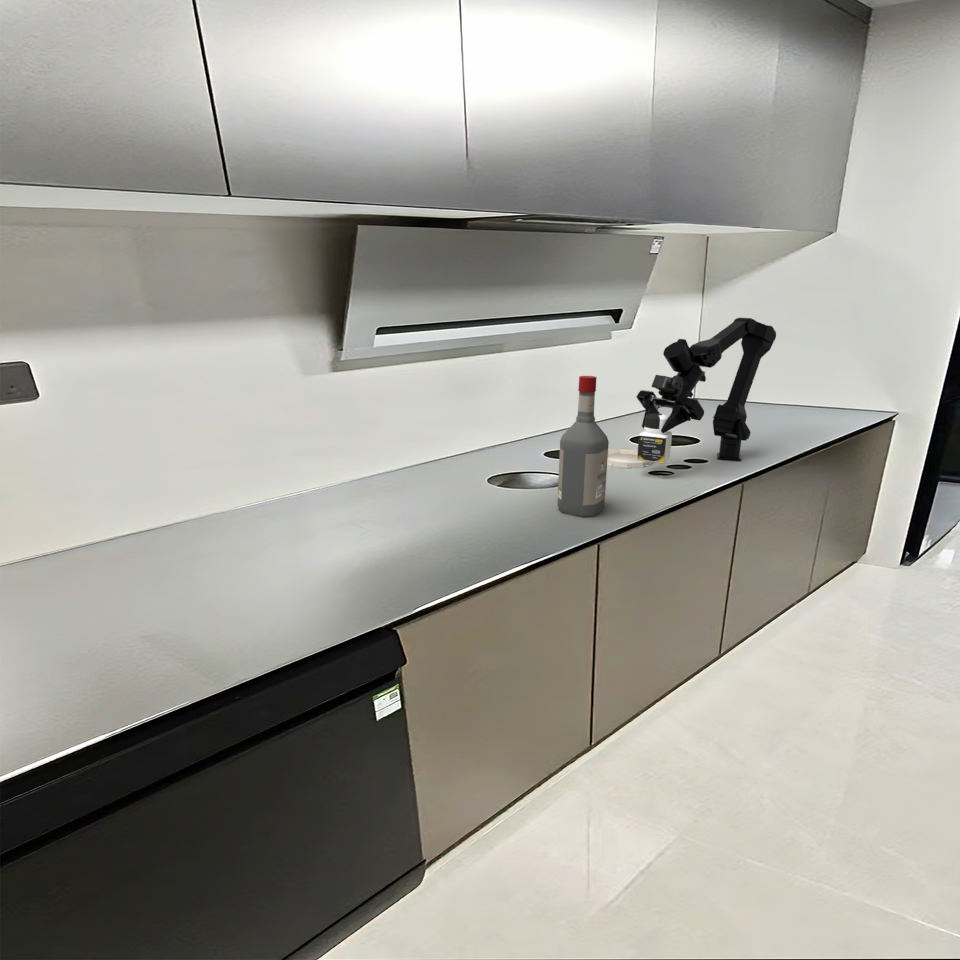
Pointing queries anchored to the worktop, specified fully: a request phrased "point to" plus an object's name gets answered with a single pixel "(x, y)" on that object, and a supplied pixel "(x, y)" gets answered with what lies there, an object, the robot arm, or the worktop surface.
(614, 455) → the coaster
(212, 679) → the worktop surface
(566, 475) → the liquor
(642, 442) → the medicine bottle
